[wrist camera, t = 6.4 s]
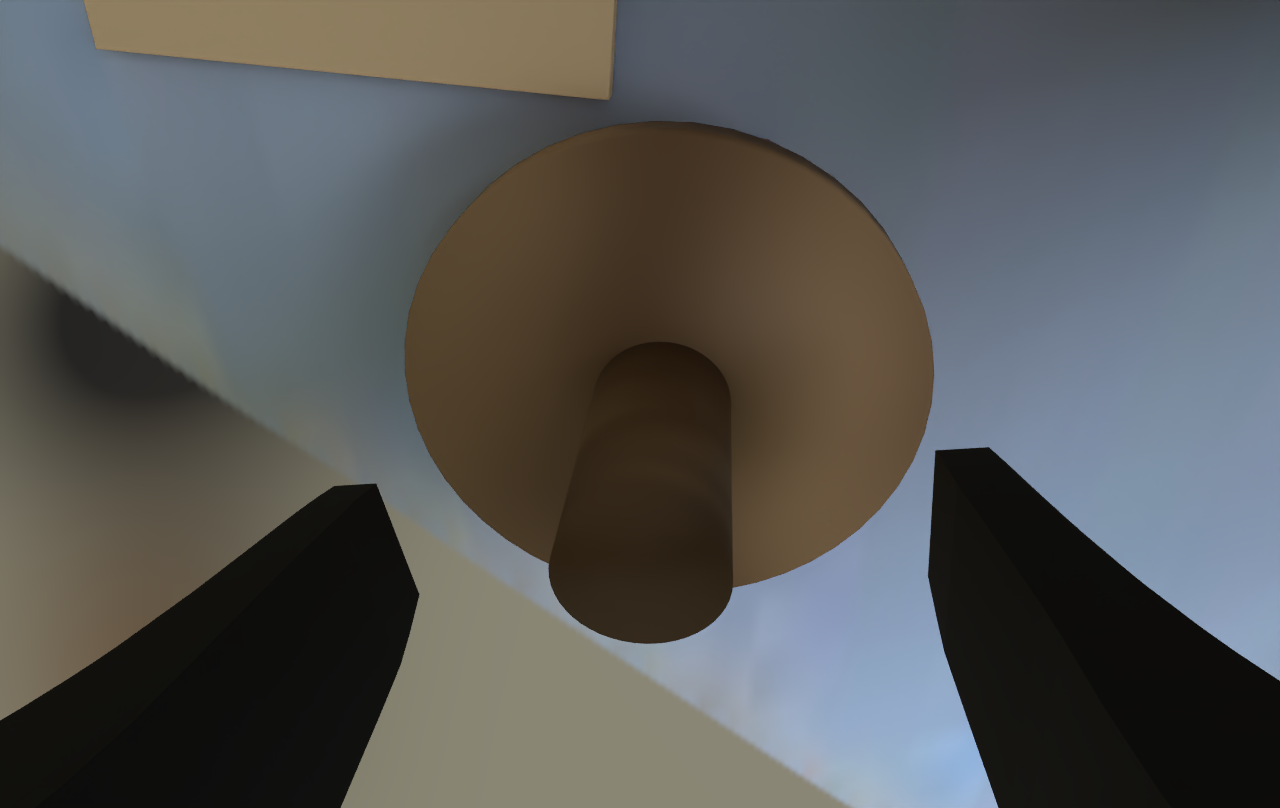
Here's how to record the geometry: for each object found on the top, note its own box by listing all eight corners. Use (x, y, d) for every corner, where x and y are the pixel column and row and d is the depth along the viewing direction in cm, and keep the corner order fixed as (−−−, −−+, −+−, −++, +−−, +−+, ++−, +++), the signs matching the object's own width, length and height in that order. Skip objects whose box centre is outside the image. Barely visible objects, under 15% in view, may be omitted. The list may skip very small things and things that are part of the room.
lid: (923, 73, 11) (1041, 177, 7) (923, 546, 15) (996, 784, 11) (347, 170, 12) (159, 303, 8) (495, 577, 17) (421, 798, 12)
